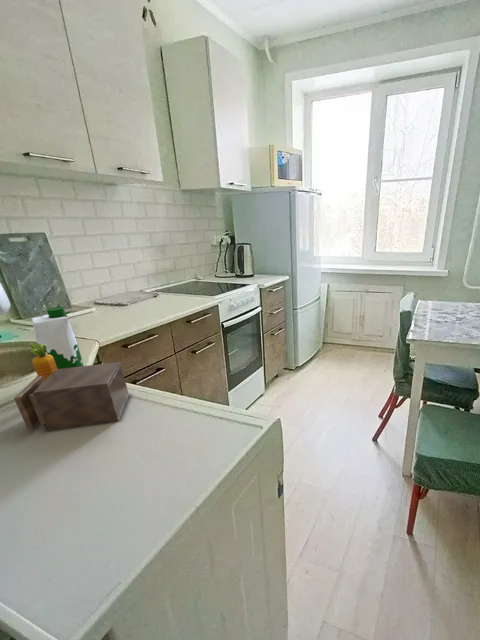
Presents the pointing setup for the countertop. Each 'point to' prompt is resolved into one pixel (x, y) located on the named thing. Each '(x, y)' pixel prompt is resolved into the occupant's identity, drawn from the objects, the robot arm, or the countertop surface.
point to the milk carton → (58, 338)
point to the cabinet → (82, 396)
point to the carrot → (43, 361)
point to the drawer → (30, 404)
